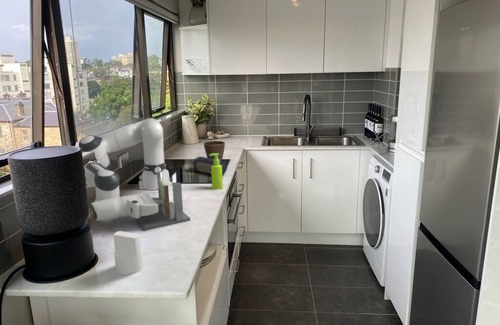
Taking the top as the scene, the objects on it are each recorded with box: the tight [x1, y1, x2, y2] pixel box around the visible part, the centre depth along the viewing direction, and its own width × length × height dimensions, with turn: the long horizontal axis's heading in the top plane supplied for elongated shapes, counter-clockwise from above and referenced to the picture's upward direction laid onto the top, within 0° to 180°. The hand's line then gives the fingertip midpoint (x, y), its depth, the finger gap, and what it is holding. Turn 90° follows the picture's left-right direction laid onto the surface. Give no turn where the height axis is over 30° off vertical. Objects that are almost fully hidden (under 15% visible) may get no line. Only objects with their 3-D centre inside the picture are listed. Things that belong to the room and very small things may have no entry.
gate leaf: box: [159, 178, 170, 218], centre depth 164 cm, size 16×2×14 cm, turn 22°
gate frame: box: [135, 171, 191, 231], centre depth 163 cm, size 25×20×18 cm
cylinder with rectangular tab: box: [112, 230, 145, 276], centre depth 119 cm, size 9×9×12 cm
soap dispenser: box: [209, 153, 224, 190], centre depth 203 cm, size 6×7×20 cm
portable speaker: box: [193, 156, 228, 176], centre depth 236 cm, size 25×10×10 cm, turn 50°
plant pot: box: [203, 140, 226, 161], centre depth 257 cm, size 15×15×16 cm
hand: (163, 200), depth 163 cm, fingers closed
